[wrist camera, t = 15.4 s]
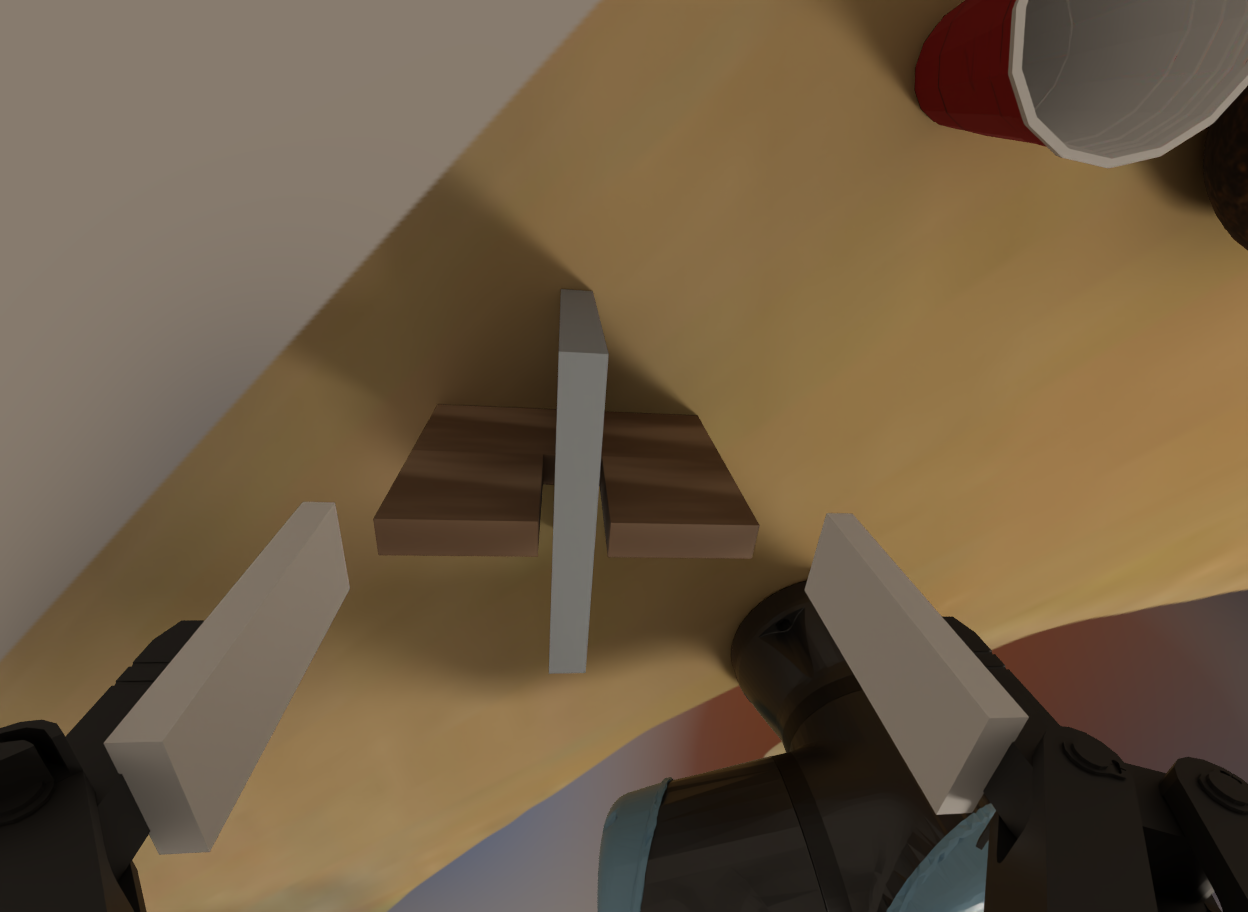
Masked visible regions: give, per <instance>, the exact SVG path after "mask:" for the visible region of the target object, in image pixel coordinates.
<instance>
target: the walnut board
mask: <svg viewBox="0 0 1248 912" xmlns="http://www.w3.org/2000/svg"><path fill="white" fill-rule="evenodd" d="M556 426H557V409H535V408H511V407H488V406H464V405H441V404H438V405H437V407H436V408H435V410H434V412H433V414H432V416H431V417H430V419H429V421H428V423H427V424H426V426H425V428H424V430H423V432H422V433H421V435H420V437H419V439H418V440H417V442H416V444H415V446H414V448H413V449H412V451H411V453H410V455H409V456H408V458H407V460H406V462H405V464H404V465H403V467H402V469H401V471H400V472H399V474H398V476H397V478H396V480H395V481H394V483H393V485H392V487H391V488H390V490H389V492H388V494H387V495H386V497H385V499H384V501H383V503H382V504H381V506H380V508H379V510H378V511H377V513H376V515H375V517H374V519H373V520H374V527H375V534H376V541H377V548H378V555H423V556H531V557H538V544H539V530H540V516H541V502H542V488H543V484H550V485H555V459H556ZM599 486H600V492H601V501H602V510H603V518H604V527H605V536H606V544H607V553H608V557H639V558H746V559H752V556H753V551H754V547H755V543H756V538H757V534H758V530H759V526H760V525H759V524H758V522H757V520H756V518H755V517H754V515H753V513H752V511H751V509H750V508H749V506H748V504H747V502H746V501H745V499H744V497H743V495H742V493H741V492H740V490H739V488H738V486H737V485H736V483H735V481H734V479H733V477H732V476H731V474H730V472H729V470H728V469H727V467H726V465H725V463H724V461H723V460H722V458H721V456H720V454H719V453H718V451H717V449H716V447H715V446H714V444H713V442H712V440H711V438H710V437H709V435H708V433H707V431H706V430H705V428H704V426H703V424H702V422H701V421H700V419H699V417H698V415H675V414H652V413H628V412H605V411H604V424H603V438H602V452H601V466H600V479H599Z"/></svg>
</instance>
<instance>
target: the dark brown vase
mask: <svg viewBox="0 0 1248 912" xmlns="http://www.w3.org/2000/svg"><path fill="white" fill-rule="evenodd" d="M1203 169H1204V179H1205V185H1206V190H1207V193H1208V197H1209V199H1210V201H1211V204H1212V206H1213V209H1214V211H1215V213H1216V215H1217V217H1218V219H1219V220H1220V222H1221V223H1222V225H1223V226H1224V228H1225V229H1226V230H1227V231H1228V233H1229V234H1230V235H1231V237H1232V238H1233V239H1234V240H1235V241H1237V242H1238V243H1239V244H1240V245H1242V246H1243V247H1244V248H1245V249H1247V250H1248V86H1247V87H1246V88H1245V89H1244V90H1243V91H1242V92H1241V93H1240V95H1239V96H1238V97H1237V98H1236V99H1235V100H1234V101H1233V102H1232V103H1231V104H1230V106H1229V107H1228V108H1227V109H1226V110H1225V111H1224V112H1223V113H1222V114H1221V115H1220V116H1219V118H1218V119H1217V120H1216V121H1215V122H1214V123H1213V124H1211V125H1210V126H1209V130H1208V134H1207V138H1206V143H1205V150H1204V159H1203Z"/></svg>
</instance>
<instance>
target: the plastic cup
mask: <svg viewBox="0 0 1248 912" xmlns="http://www.w3.org/2000/svg"><path fill="white" fill-rule="evenodd" d="M1247 86H1248V0H965V1H964V2H963V3H961V4H960V5H958V6H957V7H956V8H954V9H953V10H952V11H950V12H949V13H948V14H946V15H945V16H944V17H943V18H942V20H941V21H940V22H939V23H938V24H937V26H936V27H935V28H934V30H933V31H932V33H931V34H930V35H929V37H928V38H927V40H926V41H925V42H924V44H923V47H922V50H921V53H920V56H919V59H918V62H917V64H916V68H915V93H916V96H917V98H918V101H919V104H920V107H921V110H922V111H923V112H924V113H925V114H926V115H928V116H929V117H930V118H931V119H932V120H933V121H934V122H937V123H938V124H939V125H943V126H947V127H951V128H955V129H960V130H965V131H969V132H973V133H977V134H981V135H985V136H991V137H997V138H1004V139H1010V140H1016V141H1023V142H1029V143H1035V144H1039V145H1042V146H1046V147H1048V148H1049V149H1050V150H1051V151H1052V152H1053V153H1054V154H1055V155H1056V156H1059V157H1062V158H1066V159H1070V160H1074V161H1079V162H1083V163H1087V164H1092V165H1096V166H1100V167H1104V168H1112V167H1117V166H1121V165H1125V164H1130V163H1134V162H1139V161H1143V160H1147V159H1152V158H1156V157H1160V156H1162V155H1164V154H1165V153H1167V152H1168V151H1170V150H1172V149H1173V148H1175V147H1176V146H1178V145H1180V144H1181V143H1183V142H1184V141H1186V140H1187V139H1189V138H1191V137H1192V136H1194V135H1195V134H1197V133H1199V132H1200V131H1202V130H1203V129H1205V128H1207V127H1208V126H1210V125H1211V124H1213V123H1214V122H1215V121H1216V120H1217V119H1218V118H1219V116H1220V115H1221V114H1222V113H1223V112H1224V111H1225V110H1226V109H1227V108H1228V107H1229V106H1230V104H1231V103H1232V102H1233V101H1234V100H1235V99H1236V98H1237V97H1238V96H1239V95H1240V93H1241V92H1242V91H1243V90H1244V89H1245V88H1246V87H1247Z"/></svg>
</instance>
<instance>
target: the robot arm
mask: <svg viewBox="0 0 1248 912" xmlns="http://www.w3.org/2000/svg"><path fill="white" fill-rule="evenodd" d="M349 589H350V586H349V580H348V574H347V569H346V563H345V557H344V551H343V545H342V539H341V534H340V528H339V522H338V516H337V510H336V505H335V502H302V504H301V505H300V506H299V507H298V508H297V510H296V511H295V512H294V513H293V514H292V516H291V517H290V518H289V519H288V520H287V522H286V523H285V524H284V525H283V527H282V528H281V529H280V530H279V531H278V533H277V534H276V535H275V536H274V537H273V539H272V540H271V541H270V542H269V543H268V545H267V546H266V547H265V548H264V549H263V551H262V552H261V553H260V554H259V556H258V557H257V558H256V559H255V560H254V562H253V563H252V564H251V565H250V566H249V568H248V569H247V570H246V571H245V572H244V574H243V575H242V576H241V577H240V579H239V580H238V581H237V582H236V583H235V585H234V586H233V587H232V588H231V589H230V591H229V592H228V593H227V594H226V595H225V597H224V598H223V599H222V600H221V602H220V603H219V604H218V605H217V606H216V608H215V609H214V610H213V611H212V612H211V614H210V615H209V616H208V617H207V618H206V620H205V621H180V622H179V623H177V624H176V625H175V626H173V627H172V628H170V629H169V630H167V631H166V632H164V633H163V634H161V635H160V636H158V637H157V638H155V639H154V640H153V641H152V642H151V643H150V644H149V645H148V646H147V647H146V648H145V649H144V651H143V652H142V653H141V654H140V655H139V656H138V657H137V658H136V659H135V660H134V662H133V665H132V667H128V668H127V669H126V670H125V672H124V673H123V674H122V675H121V676H120V677H119V678H118V679H117V680H116V684H115V686H111V687H110V688H109V689H108V690H107V691H106V693H105V694H104V695H103V696H102V697H101V698H100V699H99V700H98V701H97V702H96V704H95V705H94V706H93V707H92V708H91V709H90V710H89V711H88V712H87V714H86V715H85V716H84V717H83V718H82V719H81V720H80V721H79V722H78V723H77V725H76V726H75V727H74V728H73V729H72V730H71V731H70V732H69V733H68V735H67V736H66V737H65V736H64V734H63V732H62V731H61V729H60V728H59V726H58V725H57V724H56V723H52V722H48V721H45V720H35V721H25V722H19V723H15V724H12V725H9V726H6V727H3V728H0V912H146V908H145V903H144V898H143V894H142V889H141V885H140V880H139V876H138V871H137V868H136V867H135V865H134V863H133V861H132V859H133V858H134V856H135V855H136V853H137V852H138V850H139V848H140V847H141V845H142V844H143V842H144V841H145V839H146V837H147V836H148V834H149V835H150V837H151V839H152V841H153V843H154V845H155V847H156V849H157V851H158V853H159V855H160V854H179V853H199V852H210V850H211V848H212V846H213V845H214V843H215V841H216V839H217V837H218V835H219V833H220V831H221V830H222V828H223V826H224V824H225V822H226V820H227V818H228V816H229V815H230V813H231V811H232V809H233V807H234V805H235V803H236V801H237V800H238V798H239V796H240V794H241V792H242V790H243V788H244V786H245V785H246V783H247V781H248V779H249V777H250V775H251V773H252V771H253V770H254V768H255V766H256V764H257V762H258V760H259V758H260V756H261V755H262V753H263V751H264V749H265V747H266V745H267V743H268V741H269V740H270V738H271V736H272V734H273V732H274V730H275V728H276V726H277V725H278V723H279V721H280V719H281V717H282V715H283V713H284V711H285V710H286V708H287V706H288V704H289V702H290V700H291V698H292V696H293V694H294V693H295V691H296V689H297V687H298V685H299V683H300V681H301V679H302V678H303V676H304V674H305V672H306V670H307V668H308V666H309V664H310V663H311V661H312V659H313V657H314V655H315V653H316V651H317V649H318V648H319V646H320V644H321V642H322V640H323V638H324V636H325V634H326V633H327V631H328V629H329V627H330V625H331V623H332V621H333V619H334V618H335V616H336V614H337V612H338V610H339V608H340V606H341V604H342V603H343V601H344V599H345V597H346V595H347V593H348V591H349ZM731 660H732V665H733V668H734V671H735V674H736V677H737V680H738V682H739V685H740V687H741V689H742V691H743V693H744V695H745V696H746V697H747V699H748V700H749V701H750V702H751V703H752V704H753V705H754V707H755V708H756V709H757V711H758V712H759V713H760V714H761V716H762V717H763V718H764V719H765V721H766V722H767V723H768V724H769V726H770V727H771V728H772V729H773V731H774V732H775V733H776V734H777V735H778V736H779V738H780V739H781V741H782V743H783V745H784V748H785V751H786V753H784V754H780V755H775V756H769V757H765V758H762V759H758V760H754V761H750V762H746V763H742V764H738V765H734V766H730V767H726V768H722V769H718V770H714V771H710V772H706V773H703V774H698V775H694V776H690V777H685V778H681V779H677V780H673V779H672V778H671V777H669V778H665V779H664V780H663V781H662V782H661V783H658V784H655V785H652V786H649V787H645V788H642V789H639V790H636V791H633V792H630V793H627V794H625V795H623V796H621V797H620V798H619V799H618V800H617V801H616V802H615V803H614V804H613V806H612V807H611V809H610V811H609V813H608V815H607V818H606V821H605V824H604V829H603V835H602V840H601V847H600V856H599V871H598V912H1221V910H1220V909H1219V907H1218V905H1217V903H1216V902H1215V900H1214V898H1213V896H1212V893H1213V892H1214V891H1215V893H1216V895H1217V897H1218V899H1219V901H1220V904H1221V907H1222V909H1223V912H1248V784H1247V783H1246V782H1245V781H1244V780H1242V779H1241V778H1239V777H1238V776H1236V775H1235V774H1232V773H1231V772H1229V771H1227V770H1225V769H1224V768H1222V767H1220V766H1217V765H1215V764H1212V763H1210V762H1208V761H1205V760H1202V759H1197V758H1191V757H1185V758H1181V759H1178V760H1177V761H1176V762H1175V763H1174V764H1173V766H1172V767H1171V768H1170V769H1169V771H1168V772H1167V773H1162V772H1159V771H1155V770H1151V769H1147V768H1142V767H1139V766H1135V765H1131V764H1127V763H1124V762H1123V761H1122V760H1121V758H1120V757H1119V756H1118V755H1117V754H1116V753H1115V752H1113V751H1112V750H1111V749H1110V748H1108V747H1107V746H1106V745H1105V744H1103V743H1102V742H1101V741H1099V740H1097V739H1095V738H1094V737H1092V736H1090V735H1088V734H1087V733H1085V732H1082V731H1079V730H1076V729H1073V728H1070V727H1062V726H1060V725H1059V724H1058V723H1057V722H1056V721H1055V720H1054V718H1053V717H1052V716H1051V715H1050V714H1049V713H1048V712H1047V711H1046V710H1045V709H1044V707H1043V706H1042V705H1041V704H1040V703H1039V702H1038V701H1037V700H1036V699H1035V698H1034V697H1033V695H1032V694H1031V693H1030V692H1029V691H1028V690H1027V689H1026V688H1025V687H1024V686H1023V684H1021V682H1020V681H1019V680H1018V679H1017V678H1016V677H1015V676H1014V675H1013V674H1012V672H1010V670H1006V668H1005V665H1004V664H1003V663H1002V661H1000V659H999V658H998V657H997V656H996V655H995V654H992V650H991V649H990V648H989V647H988V646H987V645H986V644H985V643H984V642H983V641H982V640H981V638H980V637H979V636H978V635H977V634H976V633H975V632H974V631H972V630H971V629H969V628H968V627H967V626H965V625H964V624H962V623H961V622H959V621H958V620H957V619H955V618H954V617H942V616H941V615H940V614H939V613H938V612H937V611H936V609H935V608H934V607H933V606H932V605H931V604H930V603H929V601H928V600H927V599H926V598H925V597H924V596H923V594H922V593H921V592H920V591H919V590H918V589H917V588H916V586H915V585H914V584H913V583H912V582H911V581H910V580H909V578H908V577H907V576H906V575H905V574H904V573H903V571H902V570H901V569H900V568H899V567H898V566H897V565H896V563H895V562H894V561H893V560H892V559H891V558H890V557H889V555H888V554H887V553H886V552H885V551H884V550H883V548H882V547H881V546H880V545H879V544H878V543H877V542H876V540H875V539H874V538H873V537H872V536H871V535H870V533H869V532H868V531H867V530H866V529H865V528H864V527H863V525H862V524H861V523H860V522H859V521H858V520H857V519H856V517H855V516H854V515H853V514H844V513H827V514H826V517H825V521H824V524H823V528H822V531H821V535H820V538H819V542H818V545H817V548H816V552H815V555H814V559H813V562H812V566H811V569H810V573H809V576H808V579H807V581H805V582H801V583H798V584H795V585H792V586H790V587H787V588H785V589H783V590H781V591H779V592H777V593H775V594H773V595H772V596H770V597H768V598H767V599H766V600H764V601H763V602H761V603H760V604H759V605H758V606H757V607H755V608H754V609H753V610H752V611H751V612H750V613H749V615H748V616H747V617H746V618H745V619H744V621H743V622H742V624H741V625H740V627H739V628H738V630H737V632H736V634H735V637H734V640H733V643H732V649H731Z"/></svg>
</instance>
